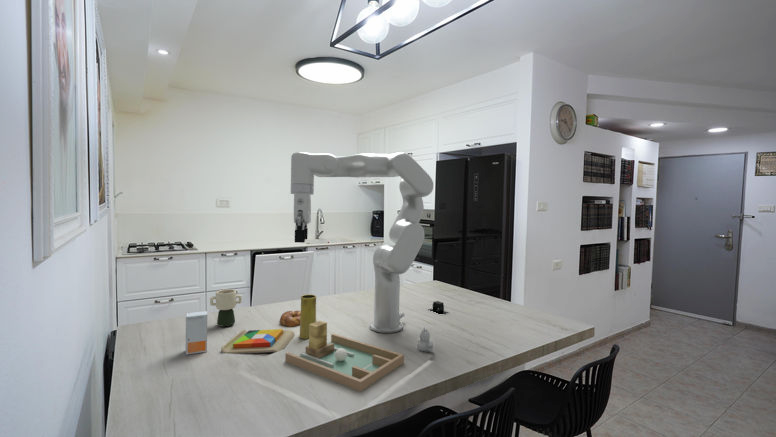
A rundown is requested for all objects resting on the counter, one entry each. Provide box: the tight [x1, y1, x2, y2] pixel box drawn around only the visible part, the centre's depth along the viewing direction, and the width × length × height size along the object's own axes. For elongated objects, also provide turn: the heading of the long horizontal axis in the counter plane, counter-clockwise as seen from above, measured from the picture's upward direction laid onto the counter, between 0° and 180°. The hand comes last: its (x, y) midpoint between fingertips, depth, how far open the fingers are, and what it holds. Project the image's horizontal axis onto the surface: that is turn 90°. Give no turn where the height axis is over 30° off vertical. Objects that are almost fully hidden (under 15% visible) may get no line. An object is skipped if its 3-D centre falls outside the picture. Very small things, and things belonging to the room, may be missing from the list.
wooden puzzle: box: [221, 328, 295, 355], centre depth 122 cm, size 18×19×4 cm
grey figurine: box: [416, 327, 434, 354], centre depth 117 cm, size 5×7×8 cm
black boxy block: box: [427, 300, 450, 315], centre depth 161 cm, size 12×7×5 cm, turn 35°
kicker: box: [305, 320, 334, 359], centre depth 112 cm, size 7×6×9 cm
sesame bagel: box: [279, 310, 301, 328], centre depth 144 cm, size 12×11×4 cm
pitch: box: [284, 333, 405, 393], centre depth 106 cm, size 20×28×4 cm
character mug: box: [209, 288, 243, 327], centre depth 138 cm, size 11×7×13 cm, turn 113°
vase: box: [299, 293, 317, 340], centre depth 129 cm, size 6×6×14 cm
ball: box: [335, 348, 347, 361], centre depth 107 cm, size 4×4×4 cm
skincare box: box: [185, 310, 208, 356], centre depth 114 cm, size 6×4×12 cm
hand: (301, 240), depth 123 cm, fingers open, 9 cm apart
